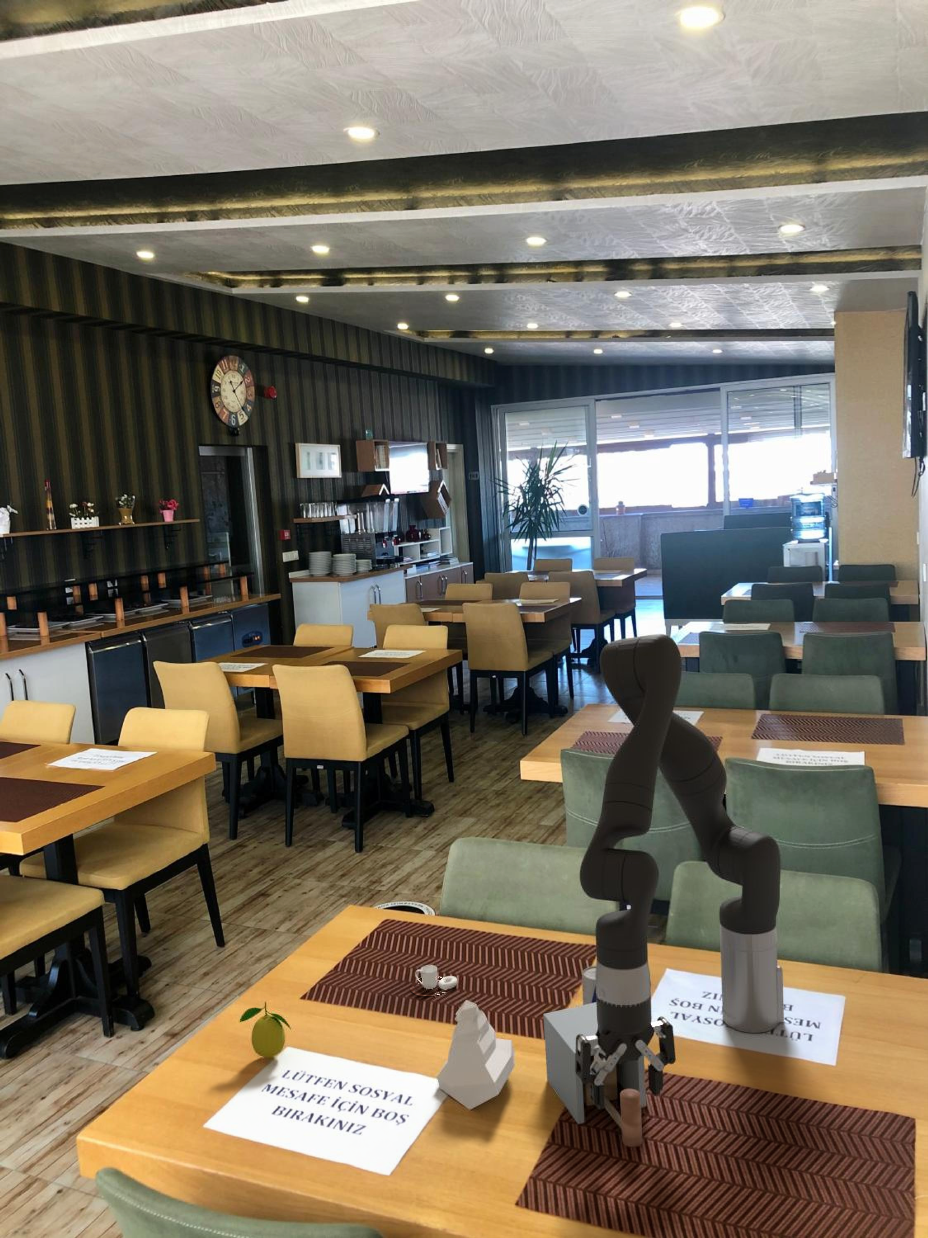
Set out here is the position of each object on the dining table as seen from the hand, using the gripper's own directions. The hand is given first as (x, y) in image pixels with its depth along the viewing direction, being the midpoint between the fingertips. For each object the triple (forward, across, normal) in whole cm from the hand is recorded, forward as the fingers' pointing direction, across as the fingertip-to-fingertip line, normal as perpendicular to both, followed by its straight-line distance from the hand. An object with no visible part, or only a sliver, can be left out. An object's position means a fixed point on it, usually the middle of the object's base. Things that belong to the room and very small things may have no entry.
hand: (626, 1099), depth 142 cm
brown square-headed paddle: (+6, 0, -7) cm, 9 cm away
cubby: (+6, 0, -12) cm, 14 cm away
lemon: (+7, +46, -42) cm, 62 cm away
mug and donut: (+7, +14, -52) cm, 54 cm away
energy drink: (+6, -7, -25) cm, 27 cm away
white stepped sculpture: (+7, +16, -21) cm, 27 cm away
